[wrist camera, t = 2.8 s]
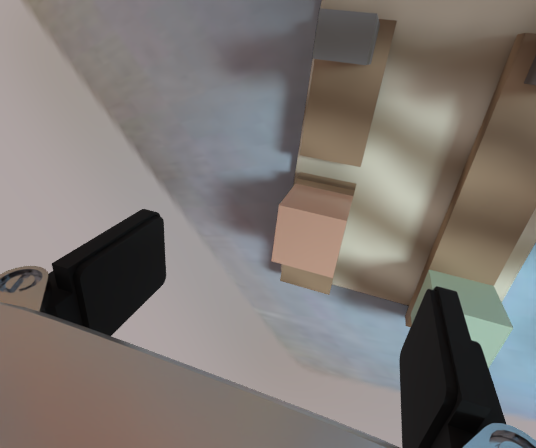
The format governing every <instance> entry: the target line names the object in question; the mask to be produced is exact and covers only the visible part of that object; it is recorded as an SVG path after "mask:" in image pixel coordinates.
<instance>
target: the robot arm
mask: <svg viewBox="0 0 536 448" xmlns="http://www.w3.org/2000/svg"><path fill="white" fill-rule="evenodd" d="M52 266H53V271H52V272H51V273H49V274H48V272H47V271H46V270H45V269H44V268H41V267H37V266H24V267H19V268H15V269H11V270H8V271H6V272H4V273H2V274H0V448H399V447H397V446H395V445H393V444H390V443H388V442H386V441H384V440H381V439H379V438H376V437H374V436H371V435H369V434H366V433H364V432H361V431H359V430H356V429H354V428H351V427H349V426H346V425H344V424H341V423H339V422H336V421H334V420H331V419H329V418H326V417H323V416H321V415H318V414H316V413H313V412H311V411H308V410H305V409H303V408H300V407H298V406H295V405H292V404H290V403H287V402H285V401H282V400H279V399H277V398H274V397H271V396H268V395H266V394H263V393H261V392H258V391H256V390H253V389H250V388H248V387H245V386H243V385H240V384H237V383H235V382H232V381H229V380H227V379H224V378H221V377H219V376H216V375H213V374H210V373H208V372H205V371H203V370H200V369H197V368H195V367H192V366H189V365H186V364H184V363H181V362H179V361H176V360H173V359H170V358H168V357H165V356H162V355H160V354H157V353H154V352H152V351H149V350H146V349H144V348H141V347H138V346H135V345H133V344H130V343H127V342H124V341H122V340H119V339H116V338H113V337H111V335H112V334H113V333H114V332H115V331H116V330H117V329H118V328H119V327H120V326H121V325H122V324H123V323H124V322H125V321H126V320H127V319H128V318H129V317H130V316H131V315H133V314H134V312H136V311H137V309H139V308H140V306H142V305H143V304H144V303H145V301H147V300H148V299H149V298H150V297H151V296H152V295H153V294H154V293H155V292H156V291H157V290H158V289H159V288H160V287H161V286H162V285H163V283H164V281H165V279H166V265H165V243H164V222H163V219H162V218H161V217H160V215H159V213H157V212H153V211H150V210H146V209H142V210H140V211H138V212H137V213H135V214H133V215H132V216H130V217H128V218H127V219H125V220H123V221H122V222H120V223H119V224H117V225H115V226H113V227H112V228H110V229H108V230H107V231H105V232H103V233H102V234H100V235H98V236H97V237H95V238H94V239H92V240H90V241H89V242H87V243H85V244H83V245H82V246H80V247H79V248H77V249H75V250H74V251H72V252H70V253H69V254H67V255H65V256H64V257H62V258H60V259H59V260H57V261H55V262H54V263H52ZM400 387H401V412H402V413H401V416H402V446H403V448H536V440H534V439H532V438H531V437H530V436H529V435H527V434H526V433H524V432H523V431H521V430H519V429H517V428H515V427H513V426H510V425H506V422H505V419H504V415H503V412H502V409H501V406H500V403H499V400H498V397H497V394H496V391H495V387H494V384H493V381H492V378H491V375H490V372H489V369H488V366H487V362H486V359H485V356H484V353H483V350H482V347H481V345H480V344H479V343H478V342H476V341H473V340H471V337H470V334H469V330H468V327H467V324H466V320H465V317H464V313H463V310H462V306H461V303H460V300H459V296H458V293H457V292H456V291H454V290H450V289H446V288H442V287H438V286H436V287H435V288H434V289H433V290H432V289H427V291H426V293H425V295H424V297H423V300H422V302H421V304H420V307H419V309H418V312H417V314H416V316H415V319H414V321H413V324H412V326H411V328H410V331H409V333H408V335H407V338H406V340H405V343H404V345H403V347H402V350H401V354H400Z"/></svg>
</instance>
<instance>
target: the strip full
mask: <svg viewBox="0 0 536 448" xmlns="http://www.w3.org/2000/svg"><path fill="white" fill-rule="evenodd" d="M535 208H536V34H534V33H522V34H518V35H517V37H516V40H515V42H514V45H513V47H512V50H511V52H510V55H509V57H508V60H507V62H506V65H505V67H504V70H503V72H502V75H501V77H500V80H499V82H498V85H497V87H496V90H495V92H494V95H493V97H492V100H491V102H490V105H489V107H488V110H487V112H486V115H485V117H484V120H483V122H482V125H481V127H480V130H479V132H478V135H477V137H476V140H475V142H474V145H473V147H472V150H471V152H470V155H469V157H468V160H467V162H466V165H465V167H464V170H463V172H462V175H461V177H460V180H459V182H458V185H457V187H456V190H455V192H454V195H453V197H452V200H451V202H450V205H449V207H448V210H447V212H446V215H445V217H444V220H443V222H442V225H441V227H440V230H439V232H438V235H437V237H436V240H435V242H434V245H433V247H432V250H431V252H430V255H429V257H428V260H427V262H426V265H425V267H424V270H423V272H422V275H421V277H420V280H419V282H418V285H417V287H416V290H415V292H414V295H413V297H412V300H411V302H410V305H409V307H408V310H407V312H406V315H405V320H406V326H408V327H411V326H412V322H411V312H412V310H413V307H414V305H415V302H416V300H417V297H418V295H419V292H420V290H421V288H422V285H423V283H424V280H425V278H426V275H427V273H428V270H433V271H437V272H441V273H445V274H449V275H453V276H457V277H460V278H464V279H468V280H472V281H476V282H480V283H484V284H488V285H492V286H494V285H495V283H496V281H497V279H498V277H499V275H500V273H501V272H502V270H503V268H504V266H505V264H506V262H507V260H508V259H509V257H510V255H511V253H512V251H513V249H514V247H515V245H516V244H517V242H518V240H519V238H520V236H521V234H522V232H523V231H524V229H525V227H526V225H527V223H528V221H529V219H530V218H531V216H532V214H533V212H534V210H535Z"/></svg>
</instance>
